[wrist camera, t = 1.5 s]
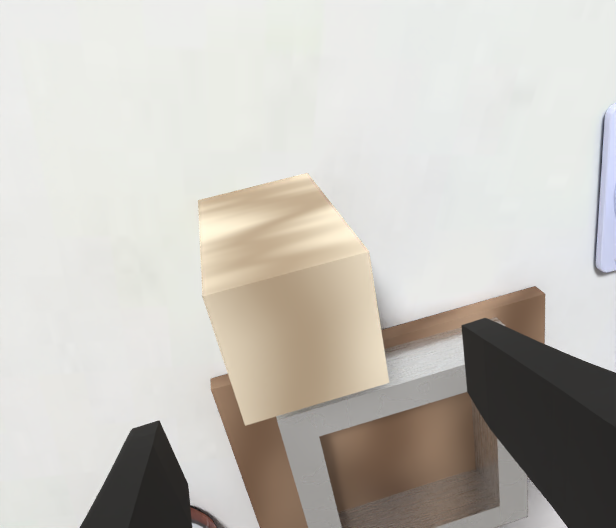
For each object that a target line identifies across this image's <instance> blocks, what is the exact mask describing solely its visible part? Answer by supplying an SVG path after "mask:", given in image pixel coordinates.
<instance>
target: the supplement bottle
mask: <svg viewBox="0 0 616 528" xmlns="http://www.w3.org/2000/svg"><path fill="white" fill-rule="evenodd" d="M190 508H191V507H190ZM191 519H192V528H217V527H216V525H215V524H214V522H213V520H212V519H211V518H209V517H208V516H206V515H205V514H204V513H202V512H200V511H198V510H196V509H194V508H191Z"/></svg>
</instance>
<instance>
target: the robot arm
mask: <svg viewBox="0 0 616 528" xmlns="http://www.w3.org/2000/svg"><path fill="white" fill-rule="evenodd" d="M615 260H616V103H614V104H612V105H611V106H610V107H609V108H608V110H607V112H606V114H605V123H604V139H603V155H602V171H601V187H600V203H599V219H598V235H597V251H596V267H597V268H598V269H599V270H601V271H602V272H605V273H606V272H611V271H615V270H616V261H615ZM461 327H462V339H463V350H464V361H465V373H466V384H467V392H468V394H469V396H470V397H471V399H472V401H473V402H474V404H475V406H476V408H477V409H478V411H479V412H480V414H481V416H482V417H483V419H484V420H485V422H486V424H487V425H488V427H489V428H490V430H491V431H492V432H493V433H494V435H495V436H496V437H497V439H498V440H499V441H500V442H501V444H502V445H503V446H504V447H505V449H506V450H507V451H508V452H509V454H510V455H511V456H512V457H513V459H514V460H515V461H516V462H517V464H518V465H519V466H520V467H521V468H522V470H523V471H524V472H525V473H526V475H527V476H528V477H529V478H530V480H531V481H532V482H533V483H534V485H535V486H536V487H537V488H538V490H539V491H540V492H541V493H542V495H543V496H544V497H545V498H546V499H547V501H548V502H549V503H550V504H551V506H552V507H553V508H554V510H555V511H556V512H557V514H558V515H559V516H560V518H561V519H562V520H563V522H564V523H565V524H566V526H567V527H568V528H616V373H615V372H612V371H609V370H607V369H604V368H601V367H599V366H596V365H593V364H591V363H588V362H586V361H583V360H581V359H578V358H576V357H573V356H571V355H568V354H566V353H564V352H561V351H559V350H557V349H554V348H552V347H550V346H548V345H545V344H543V343H541V342H539V341H536V340H534V339H532V338H530V337H528V336H525V335H523V334H521V333H519V332H517V331H515V330H512V329H510V328H508V327H506V326H504V325H501V324H499V323H497V322H495V321H492V320H490V319H487V318H483V319H479V320H476V321H473V322H470V323H467V324H463V325H461ZM80 528H192V519H191V508H190V499H189V489H188V483H187V481H186V479H185V477H184V474H183V472H182V470H181V468H180V465H179V463H178V461H177V459H176V457H175V454H174V452H173V450H172V448H171V445H170V443H169V441H168V439H167V436H166V434H165V432H164V430H163V428H162V425H161V423H160V421H156V422H152V423H149V424H146V425H143V426H140V427H137V428H133V429H132V430H131V431H130V433H129V435H128V437H127V439H126V441H125V443H124V445H123V447H122V449H121V451H120V453H119V455H118V457H117V459H116V461H115V463H114V465H113V467H112V469H111V471H110V473H109V475H108V476H107V478H106V480H105V482H104V484H103V486H102V488H101V490H100V492H99V494H98V495H97V497H96V499H95V501H94V503H93V505H92V507H91V508H90V510H89V512H88V514H87V516H86V518H85V519H84V521H83V523H82V525H81V526H80Z"/></svg>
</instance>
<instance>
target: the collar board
mask: <svg viewBox="0 0 616 528" xmlns="http://www.w3.org/2000/svg"><path fill="white" fill-rule="evenodd" d="M483 318H487V319H490V320H492V321H495V322H497V323H499V324H501V325H504V326H506V327H508V328H510V329H512V330H515V331H517V332H519V333H521V334H523V335H525V336H528V337H530V338H532V339H534V340H536V341H539V342H541V343H543V344H544V342H545V293H543V292H542V291H541V290H539V289H538V288H537V287H536V286H534V287H531V288H527V289H524V290H520V291H517V292H513V293H510V294H506V295H503V296H499V297H496V298H492V299H489V300H485V301H482V302H478V303H475V304H471V305H468V306H464V307H461V308H457V309H454V310H450V311H446V312H443V313H439V314H436V315H432V316H429V317H425V318H422V319H418V320H415V321H411V322H408V323H404V324H401V325H397V326H394V327H390V328H387V329H383V330H381V332H382V338H383V345H384V351H385V357H386V364H387V370H388V377H389V383H387V384H384V385H380V386H377V387H374V388H370V389H367V390H364V391H360V392H357V393H354V394H350V395H347V396H343V397H340V398H337V399H333V400H330V401H327V402H323V403H320V404H316V405H313V406H310V407H306V408H303V409H300V410H296V411H293V412H289V413H286V414H283V415H279V416H276V417H273V418H269V419H266V420H263V421H259V422H256V423H252V424H249V425H246V426H245V424H244V421H243V418H242V415H241V412H240V409H239V406H238V402H237V399H236V396H235V393H234V390H233V387H232V384H231V381H230V378H229V375H228V374H226V375H222V376H219V377H215V378H212V379H211V391H212V394H213V397H214V399H215V402H216V405H217V408H218V411H219V413H220V416H221V419H222V422H223V425H224V428H225V430H226V433H227V436H228V439H229V442H230V444H231V447H232V450H233V453H234V456H235V459H236V461H237V464H238V467H239V470H240V473H241V475H242V478H243V481H244V484H245V487H246V490H247V492H248V495H249V498H250V501H251V504H252V507H253V509H254V512H255V515H256V518H257V521H258V523H259V526H260V528H495V527H498V526H501V525H504V524H507V523H510V522H513V521H516V520H519V519H522V518H525V517H528V513H527V477H528V476H527V475H526V473H525V472H524V471H523V470H522V468H521V467H520V466H519V465H518V464H517V462H516V461H515V460H514V459H513V457H512V456H511V455H510V454H509V452H508V451H507V450H506V449H505V447H504V446H503V445H502V444H501V442H500V441H499V440H498V439H497V437H496V436H495V435H494V433H493V432H492V431H491V430H490V428H489V427H488V425H487V424H486V422H485V420H484V419H483V417H482V416H481V414H480V412H479V411H478V409H477V408H476V406H475V404H474V402H473V401H472V399H471V397H470V396H469V394H468V392H467V384H466V373H465V361H464V350H463V339H462V327H461V325H463V324H467V323H470V322H473V321H476V320H479V319H483Z"/></svg>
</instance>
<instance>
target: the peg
mask: <svg viewBox="0 0 616 528" xmlns="http://www.w3.org/2000/svg"><path fill="white" fill-rule="evenodd" d="M198 208H199V230H200V253H201V275H202V297H203V300H204V303H205V306H206V309H207V312H208V315H209V318H210V321H211V324H212V327H213V330H214V333H215V336H216V339H217V342H218V345H219V348H220V351H221V354H222V357H223V360H224V363H225V366H226V369H227V372H228V375H229V378H230V381H231V384H232V387H233V390H234V393H235V396H236V399H237V402H238V406H239V409H240V412H241V415H242V418H243V421H244V424H245V426H246V425H249V424H252V423H256V422H259V421H263V420H266V419H269V418H273V417H276V416H279V415H283V414H286V413H289V412H293V411H296V410H300V409H303V408H306V407H310V406H313V405H316V404H320V403H323V402H327V401H330V400H333V399H337V398H340V397H343V396H347V395H350V394H354V393H357V392H360V391H364V390H367V389H370V388H374V387H377V386H380V385H384V384H387V383H389V377H388V370H387V364H386V357H385V351H384V345H383V338H382V332H381V325H380V319H379V312H378V306H377V300H376V293H375V287H374V280H373V274H372V267H371V261H370V255H369V251H368V250H367V248H366V247H365V246H364V244H363V243H362V242H361V241H360V239H359V238H358V237H357V236H356V234H355V233H354V232H353V230H352V229H351V228H350V227H349V225H348V224H347V223H346V222H345V220H344V219H343V218H342V216H341V215H340V214H339V213H338V211H337V210H336V209H335V208H334V206H333V205H332V204H331V202H330V201H329V200H328V199H327V197H326V196H325V195H324V194H323V192H322V191H321V190H320V188H319V187H318V186H317V185H316V183H315V182H314V181H313V180H312V178H311V177H310V176H309V174H308V173H305V174H301V175H297V176H293V177H289V178H285V179H281V180H277V181H273V182H270V183H266V184H262V185H258V186H254V187H250V188H246V189H242V190H238V191H234V192H230V193H226V194H222V195H218V196H214V197H210V198H206V199H202V200H198Z"/></svg>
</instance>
